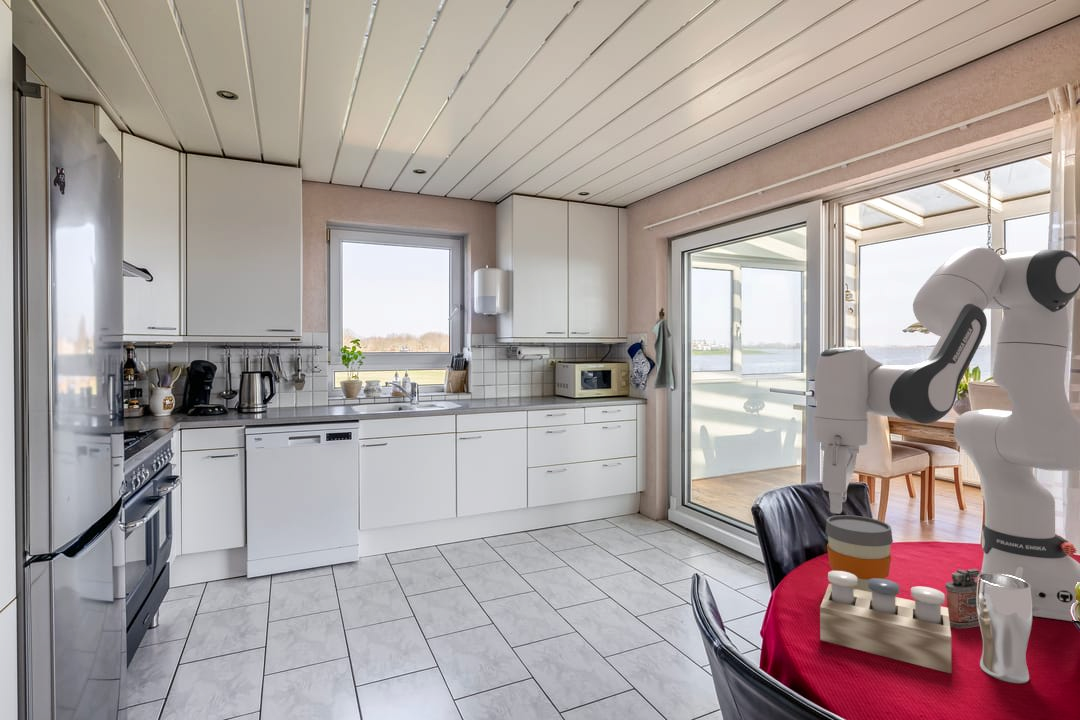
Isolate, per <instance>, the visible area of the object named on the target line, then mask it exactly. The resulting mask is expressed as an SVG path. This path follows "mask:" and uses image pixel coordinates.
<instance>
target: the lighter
mask: <svg viewBox="0 0 1080 720" xmlns="http://www.w3.org/2000/svg"><path fill="white" fill-rule="evenodd" d="M980 573H981V570H980V571H979V569H978V568H972V569H971V568H970V569H966V570H964V569H961V568H959V569H957V570H956V571H955V572H952V573H951V579H952V581H949V582H946V583H945V585H944V586H945V589H946V607H947V608H948V613H949V622H950V628H955V629H969V628H974V627H980V625H979V620H978V615H977V608H976V591H977V581H978V579H977V578H978V574H980ZM975 578H976V579H975Z"/></svg>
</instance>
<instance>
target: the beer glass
mask: <svg viewBox="0 0 1080 720" xmlns="http://www.w3.org/2000/svg"><path fill="white" fill-rule="evenodd" d="M977 580H978V581H977V591H976V608H977V615H978V620H979V629H980V632H981V634H980V635H981V639H982V651H981V652H982V653H981V656H980V661H979V667H980V669H981V670H982V671H983V672H984V673H985V674H987V675H989V676H990V677H993V678H995V679H996V680H997V679H998V680H999V681H1003V682H1006V683H1011V684H1026V683H1028V682H1029V680H1030V674H1029V669H1028V665H1027V664H1028V663H1027V659H1026V658H1027V656H1026V655H1027V648H1028V643H1029V640H1030V635H1031V631H1032V625H1033V617H1034V616H1033V608H1032V596H1031V585H1030V584H1029V583H1028V582H1026V581H1024V580H1022V579H1020V578H1017V577H1014V576H1010V575H1006V574H1001V573H992V572H985V573H981V572H980V574H978V577H977Z"/></svg>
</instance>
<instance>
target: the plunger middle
mask: <svg viewBox="0 0 1080 720" xmlns="http://www.w3.org/2000/svg"><path fill="white" fill-rule="evenodd" d="M868 588H869V589H870V590H872V610H876V611H880V612H885V613H889V614H894V615H896V600H895V597H896V595H898V594H900V585H899V584H898V583H897V582H895V581H893V580H889V579H887V578H886V579H881V578H872V579H869V580H868Z"/></svg>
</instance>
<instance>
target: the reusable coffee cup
mask: <svg viewBox="0 0 1080 720" xmlns="http://www.w3.org/2000/svg"><path fill="white" fill-rule="evenodd" d="M825 534H826V535H827V541H828V543H827V545H826V549H827V553H828V554H827V556H828V562H829V566H830V569H832V571H844V572H848V573H851V574H853V575H855V576H856V577H857V585H856V586H854V589H858V590H863V591H868V592H872V590H870V589H869V588H868V580H869V579H872V578H881V579H886V580H887V578H888V577H889V575H890V569H891V560H892V553H891V544H892V543H894V540H893V532H892V527H891V525H890V524H888V523H887V522H885V521H882V520H879V519H874V518H871V517H868V516H860V515H850V514H849V515H848V514H845V515H844V514H841V515H840V514H838V515H833V516H829V517H828V518H826V525H825Z"/></svg>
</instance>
